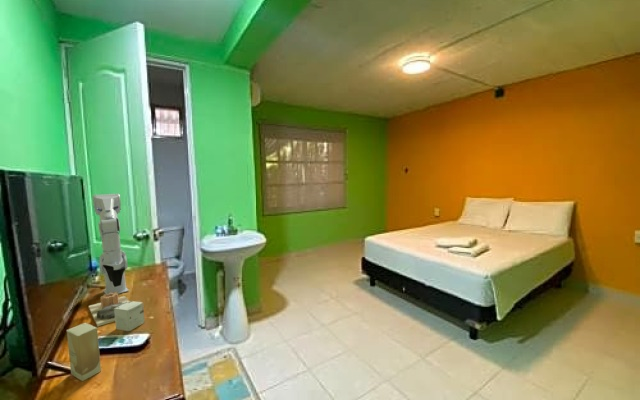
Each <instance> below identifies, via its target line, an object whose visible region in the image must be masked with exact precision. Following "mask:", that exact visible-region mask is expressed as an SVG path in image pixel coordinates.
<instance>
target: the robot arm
mask: <svg viewBox="0 0 640 400" xmlns="http://www.w3.org/2000/svg"><path fill="white" fill-rule="evenodd" d="M92 202H93V209H94V212H95V215H97V216H99V221H98V231H99V235H100V240H101V244H102V245H101V246H102V253H101V254H100V255H99V258H98V259H99V260H98V263H99V264H98V265H99V273H100V274H102V275H103V276H104V283H105V285H104V286H105V289H103V294H104V295H105V294H109V293H117V294H118V295H119V294H123V293H127V292H129V291H130V290H129V288H127V284H126V276H125V275H126V274H125V271H127V269H128V259H127V253H126V252H125V251H123V250H122V247H121V246H122V245H121V237H120V233H121V223H120V220H119V217H118V214H120V213H121V210H122V209H121V206H122V203H121V195H120V194H119V193H118V192H117V193H108V194H107V193H106V194H103V193H102V194H93V195H92Z"/></svg>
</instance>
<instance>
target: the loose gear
mask: <svg viewBox="0 0 640 400" xmlns="http://www.w3.org/2000/svg"><path fill="white" fill-rule="evenodd" d="M108 296H109V297H108ZM118 298H119V294H117V293H109V294H105V293H104V294H103V295H102V296H100V303H101V307H102V308H103V307H107V306H110V305H111V304H117V303H119V299H118Z"/></svg>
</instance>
